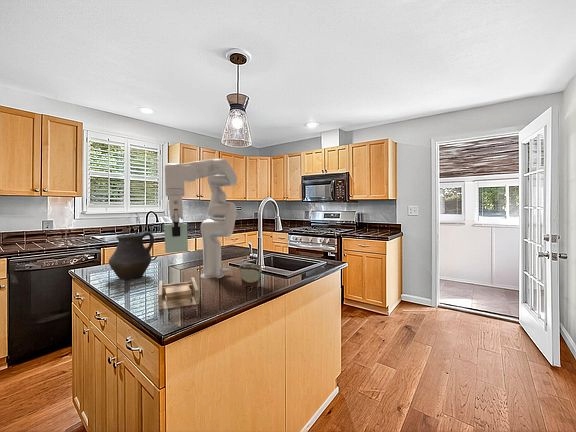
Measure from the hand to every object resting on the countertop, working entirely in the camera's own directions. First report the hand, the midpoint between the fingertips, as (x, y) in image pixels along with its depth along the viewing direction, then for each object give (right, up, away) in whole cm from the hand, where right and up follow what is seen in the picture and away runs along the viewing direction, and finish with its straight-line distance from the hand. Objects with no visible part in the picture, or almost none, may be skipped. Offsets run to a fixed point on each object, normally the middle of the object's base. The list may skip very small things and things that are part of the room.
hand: (176, 235), depth 121 cm
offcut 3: (+3, -26, -7) cm, 27 cm away
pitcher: (-37, -25, +33) cm, 55 cm away
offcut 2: (+4, -24, -7) cm, 26 cm away
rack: (+2, -27, -4) cm, 28 cm away
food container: (+31, -26, +18) cm, 45 cm away
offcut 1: (+4, -23, -7) cm, 24 cm away
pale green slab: (0, -7, +1) cm, 7 cm away
